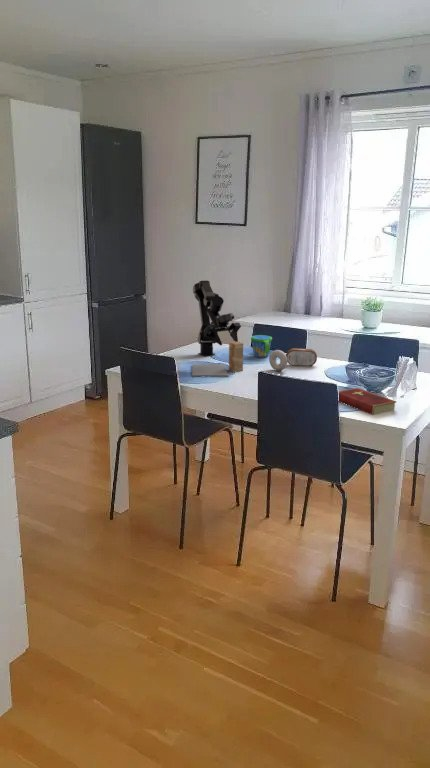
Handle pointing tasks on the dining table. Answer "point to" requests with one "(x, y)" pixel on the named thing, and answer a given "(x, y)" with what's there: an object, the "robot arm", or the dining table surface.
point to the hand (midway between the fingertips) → (229, 343)
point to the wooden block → (236, 356)
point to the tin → (301, 357)
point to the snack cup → (261, 345)
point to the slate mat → (209, 370)
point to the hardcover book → (366, 401)
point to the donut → (274, 363)
